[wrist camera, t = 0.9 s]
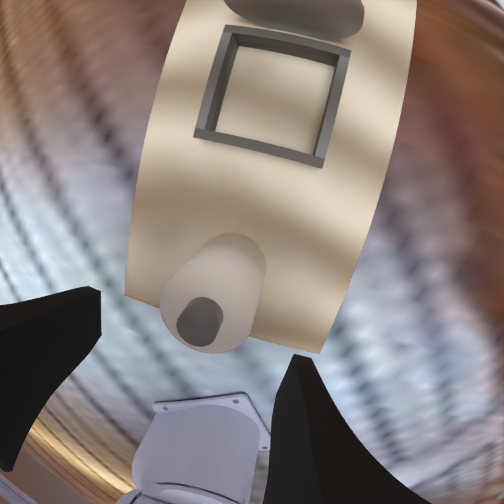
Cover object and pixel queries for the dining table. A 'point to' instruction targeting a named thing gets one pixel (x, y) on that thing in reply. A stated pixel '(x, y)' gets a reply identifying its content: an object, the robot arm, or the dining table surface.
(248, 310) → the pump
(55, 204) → the dining table surface
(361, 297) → the dining table surface
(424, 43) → the dining table surface
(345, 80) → the motor mount
